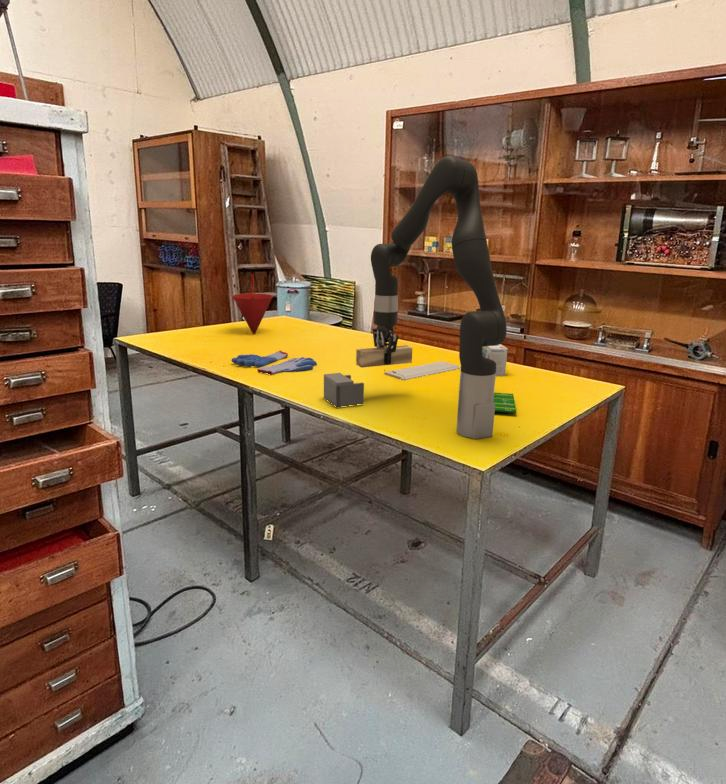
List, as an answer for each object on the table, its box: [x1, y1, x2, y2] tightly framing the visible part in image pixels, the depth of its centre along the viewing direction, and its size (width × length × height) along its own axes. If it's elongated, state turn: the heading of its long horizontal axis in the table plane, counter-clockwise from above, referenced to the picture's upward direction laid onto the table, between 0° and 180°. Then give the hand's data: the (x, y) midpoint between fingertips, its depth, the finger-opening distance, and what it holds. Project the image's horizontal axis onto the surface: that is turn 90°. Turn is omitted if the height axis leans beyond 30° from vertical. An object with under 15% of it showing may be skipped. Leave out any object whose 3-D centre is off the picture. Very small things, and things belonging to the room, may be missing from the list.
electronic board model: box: [493, 391, 517, 414], centre depth 185 cm, size 30×7×15 cm
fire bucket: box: [231, 273, 274, 335], centre depth 280 cm, size 22×20×30 cm
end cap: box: [323, 372, 365, 408], centre depth 180 cm, size 11×9×8 cm
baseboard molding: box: [383, 360, 461, 381], centre depth 220 cm, size 31×3×12 cm
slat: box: [355, 344, 413, 368], centre depth 183 cm, size 4×18×5 cm, turn 115°
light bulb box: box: [482, 343, 509, 377], centre depth 219 cm, size 11×7×11 cm, turn 5°
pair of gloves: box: [231, 350, 318, 376], centre depth 226 cm, size 32×26×4 cm
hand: (384, 362), depth 184 cm, fingers closed on slat, 4 cm apart
